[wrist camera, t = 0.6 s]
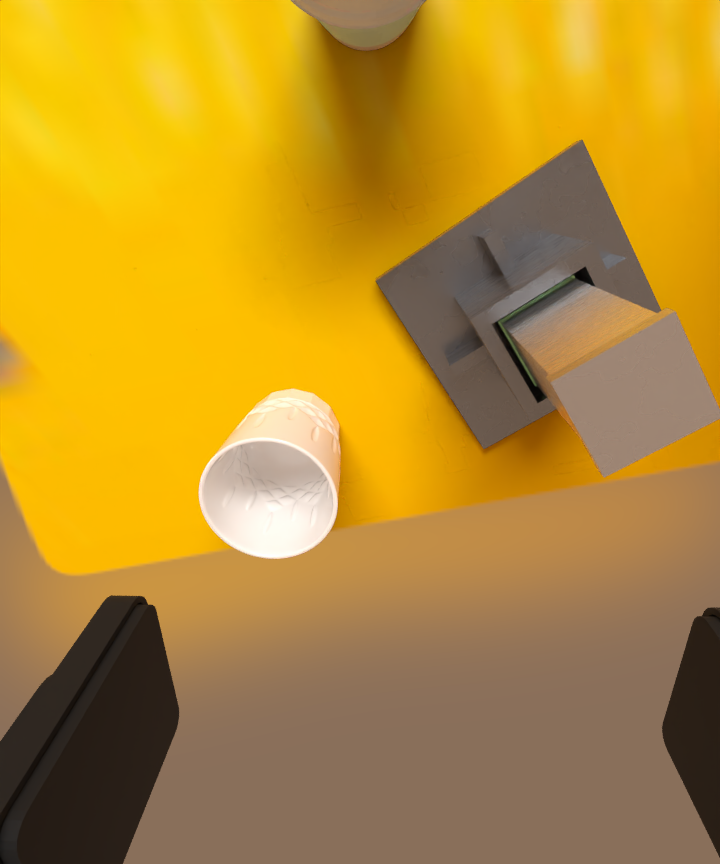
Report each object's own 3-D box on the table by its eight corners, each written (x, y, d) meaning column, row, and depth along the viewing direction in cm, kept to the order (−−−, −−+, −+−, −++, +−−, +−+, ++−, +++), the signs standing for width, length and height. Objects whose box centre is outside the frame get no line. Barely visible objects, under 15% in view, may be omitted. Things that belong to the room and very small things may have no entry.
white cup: (265, 361, 38) (227, 414, 28) (366, 410, 39) (361, 476, 30) (225, 451, 41) (179, 526, 31) (320, 494, 42) (302, 578, 32)
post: (545, 260, 33) (675, 311, 18) (577, 323, 34) (723, 416, 20) (478, 302, 34) (550, 382, 19) (512, 361, 36) (604, 477, 21)
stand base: (576, 141, 31) (634, 124, 24) (668, 338, 36) (741, 375, 28) (375, 278, 35) (373, 300, 28) (481, 443, 39) (504, 499, 32)
